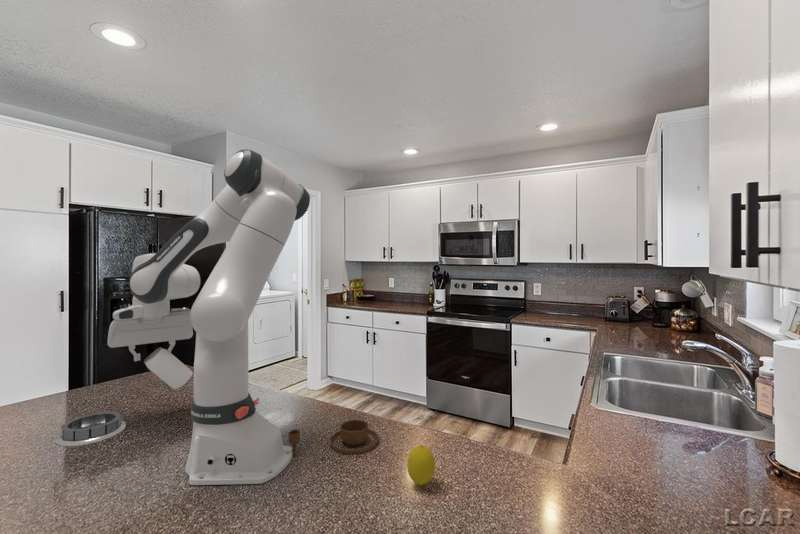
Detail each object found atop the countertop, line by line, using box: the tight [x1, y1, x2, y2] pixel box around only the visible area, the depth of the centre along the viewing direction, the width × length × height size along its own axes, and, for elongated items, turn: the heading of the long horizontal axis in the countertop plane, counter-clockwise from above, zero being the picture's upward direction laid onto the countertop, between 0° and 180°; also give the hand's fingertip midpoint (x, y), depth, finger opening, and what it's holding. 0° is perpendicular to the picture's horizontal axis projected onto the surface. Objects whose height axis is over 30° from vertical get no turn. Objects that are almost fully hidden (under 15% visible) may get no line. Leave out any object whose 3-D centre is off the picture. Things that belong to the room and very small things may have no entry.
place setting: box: [288, 419, 379, 462], centre depth 92 cm, size 18×20×6 cm
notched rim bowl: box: [55, 411, 127, 447], centre depth 97 cm, size 14×14×3 cm
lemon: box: [406, 444, 436, 486], centre depth 74 cm, size 6×6×8 cm
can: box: [143, 346, 194, 390], centre depth 108 cm, size 6×6×12 cm
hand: (152, 358), depth 106 cm, fingers open, 6 cm apart
